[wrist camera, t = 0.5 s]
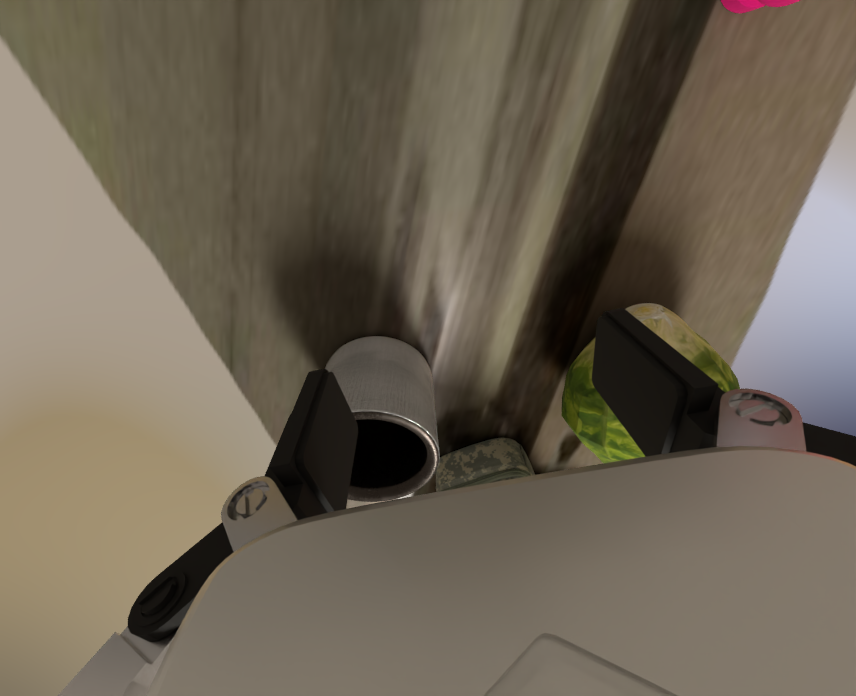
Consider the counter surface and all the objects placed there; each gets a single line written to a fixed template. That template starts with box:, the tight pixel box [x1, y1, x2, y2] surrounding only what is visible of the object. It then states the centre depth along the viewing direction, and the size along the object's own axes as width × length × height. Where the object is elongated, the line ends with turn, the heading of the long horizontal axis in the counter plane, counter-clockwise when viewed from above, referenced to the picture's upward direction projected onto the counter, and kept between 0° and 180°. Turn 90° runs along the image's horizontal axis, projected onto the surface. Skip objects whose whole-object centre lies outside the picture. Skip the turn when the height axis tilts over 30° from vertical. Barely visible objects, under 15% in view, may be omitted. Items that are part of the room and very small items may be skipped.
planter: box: [325, 336, 440, 502], centre depth 43 cm, size 16×16×16 cm
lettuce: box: [562, 303, 740, 463], centre depth 43 cm, size 19×23×18 cm
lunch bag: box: [436, 438, 535, 492], centre depth 56 cm, size 26×18×22 cm
